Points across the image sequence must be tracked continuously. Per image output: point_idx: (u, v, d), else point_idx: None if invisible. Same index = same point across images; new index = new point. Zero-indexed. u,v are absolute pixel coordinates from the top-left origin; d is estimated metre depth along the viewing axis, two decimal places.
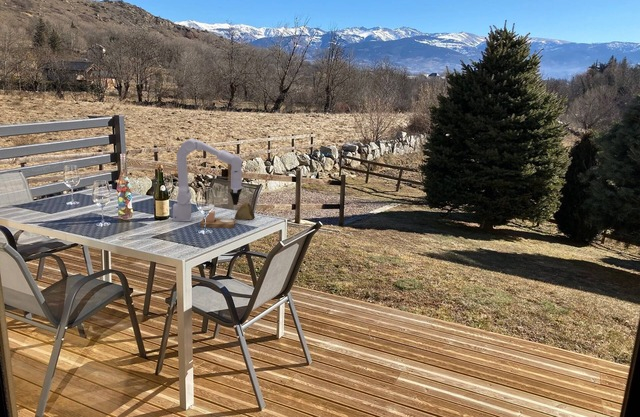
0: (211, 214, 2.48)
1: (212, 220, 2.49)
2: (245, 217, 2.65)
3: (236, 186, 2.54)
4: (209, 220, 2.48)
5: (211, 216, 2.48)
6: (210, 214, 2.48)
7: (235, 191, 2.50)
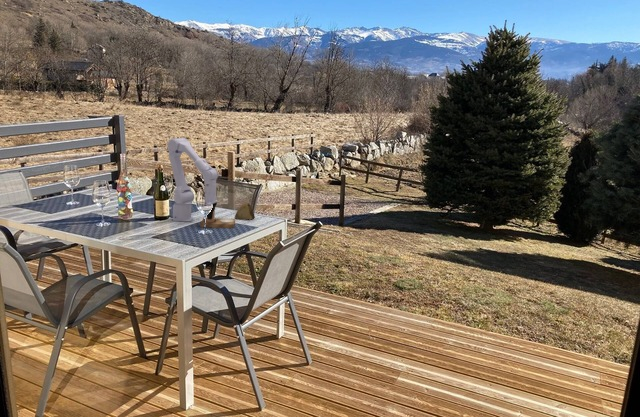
0: None
1: (212, 220, 2.49)
2: (245, 217, 2.65)
3: (210, 200, 2.45)
4: (209, 220, 2.48)
5: None
6: None
7: (209, 205, 2.41)
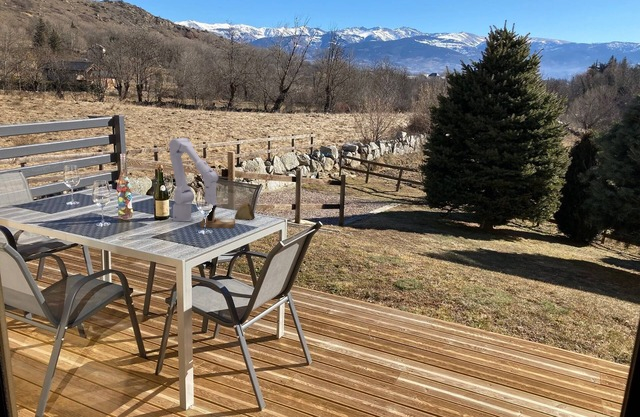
0: None
1: (212, 220, 2.49)
2: (245, 217, 2.65)
3: (210, 202, 2.46)
4: None
5: None
6: None
7: None
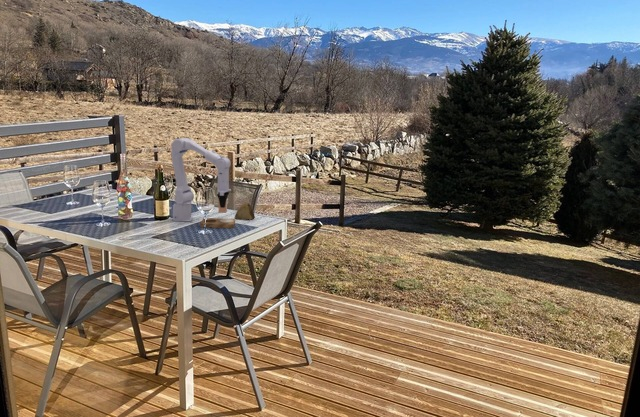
0: None
1: None
2: (245, 217, 2.65)
3: (223, 189, 2.45)
4: None
5: None
6: None
7: (222, 194, 2.41)
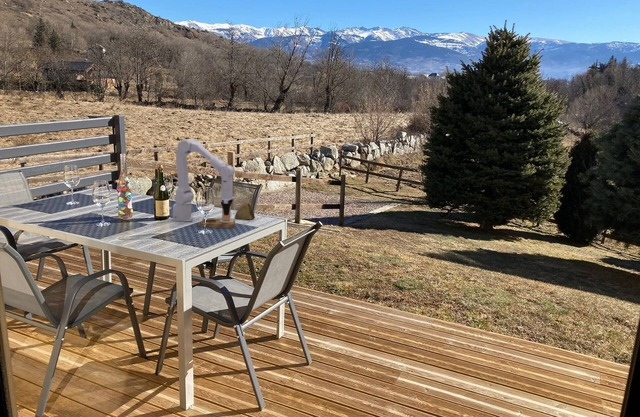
0: None
1: (228, 215, 2.49)
2: (245, 217, 2.65)
3: (227, 196, 2.46)
4: (225, 215, 2.49)
5: None
6: None
7: (226, 202, 2.42)
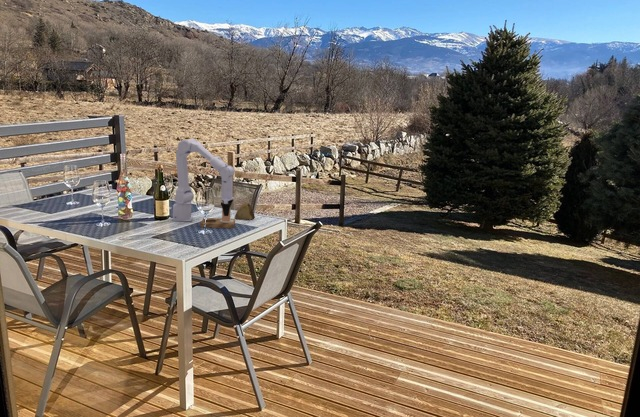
0: None
1: (228, 216, 2.49)
2: (245, 217, 2.65)
3: (227, 197, 2.46)
4: (225, 216, 2.49)
5: None
6: None
7: (226, 202, 2.42)
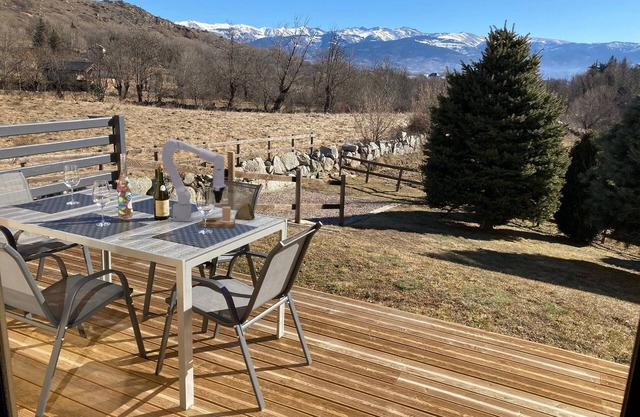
0: (227, 209, 2.48)
1: (228, 216, 2.49)
2: (245, 217, 2.65)
3: (218, 184, 2.55)
4: (225, 216, 2.49)
5: (227, 212, 2.48)
6: (226, 210, 2.48)
7: (217, 189, 2.51)
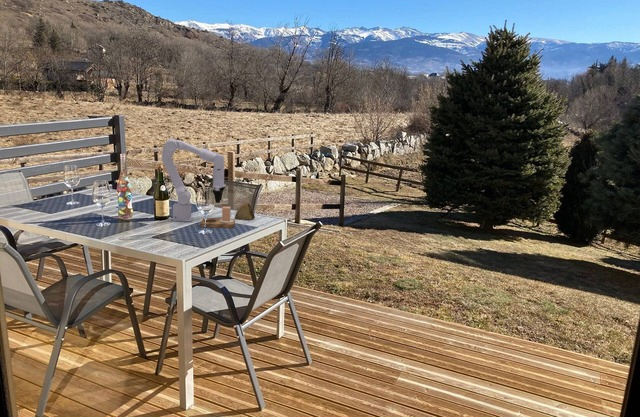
0: (227, 209, 2.48)
1: (228, 216, 2.49)
2: (245, 217, 2.65)
3: (218, 184, 2.55)
4: (225, 216, 2.49)
5: (227, 212, 2.48)
6: (226, 210, 2.48)
7: (217, 189, 2.51)
